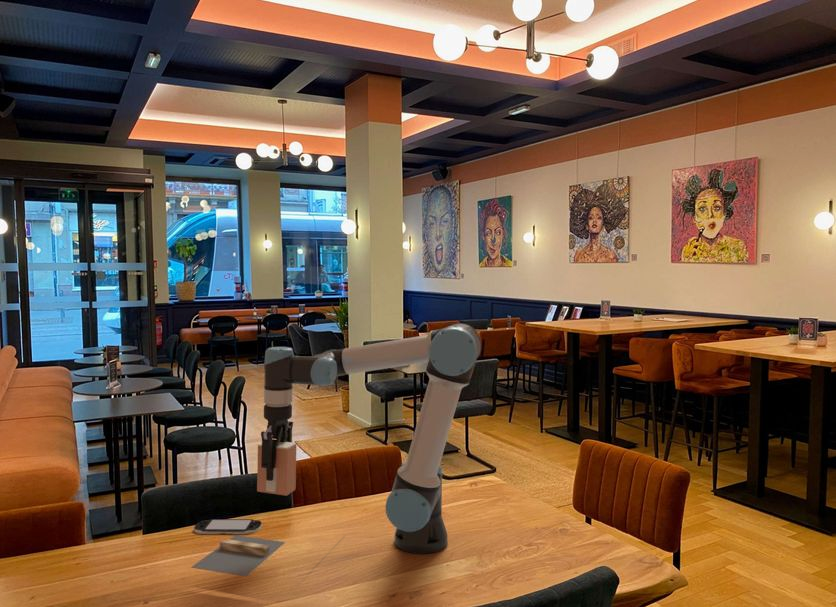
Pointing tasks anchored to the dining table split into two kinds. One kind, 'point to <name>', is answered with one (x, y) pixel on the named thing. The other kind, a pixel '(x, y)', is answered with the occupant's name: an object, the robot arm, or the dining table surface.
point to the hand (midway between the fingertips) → (276, 487)
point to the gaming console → (228, 526)
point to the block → (280, 469)
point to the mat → (237, 558)
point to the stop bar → (244, 547)
